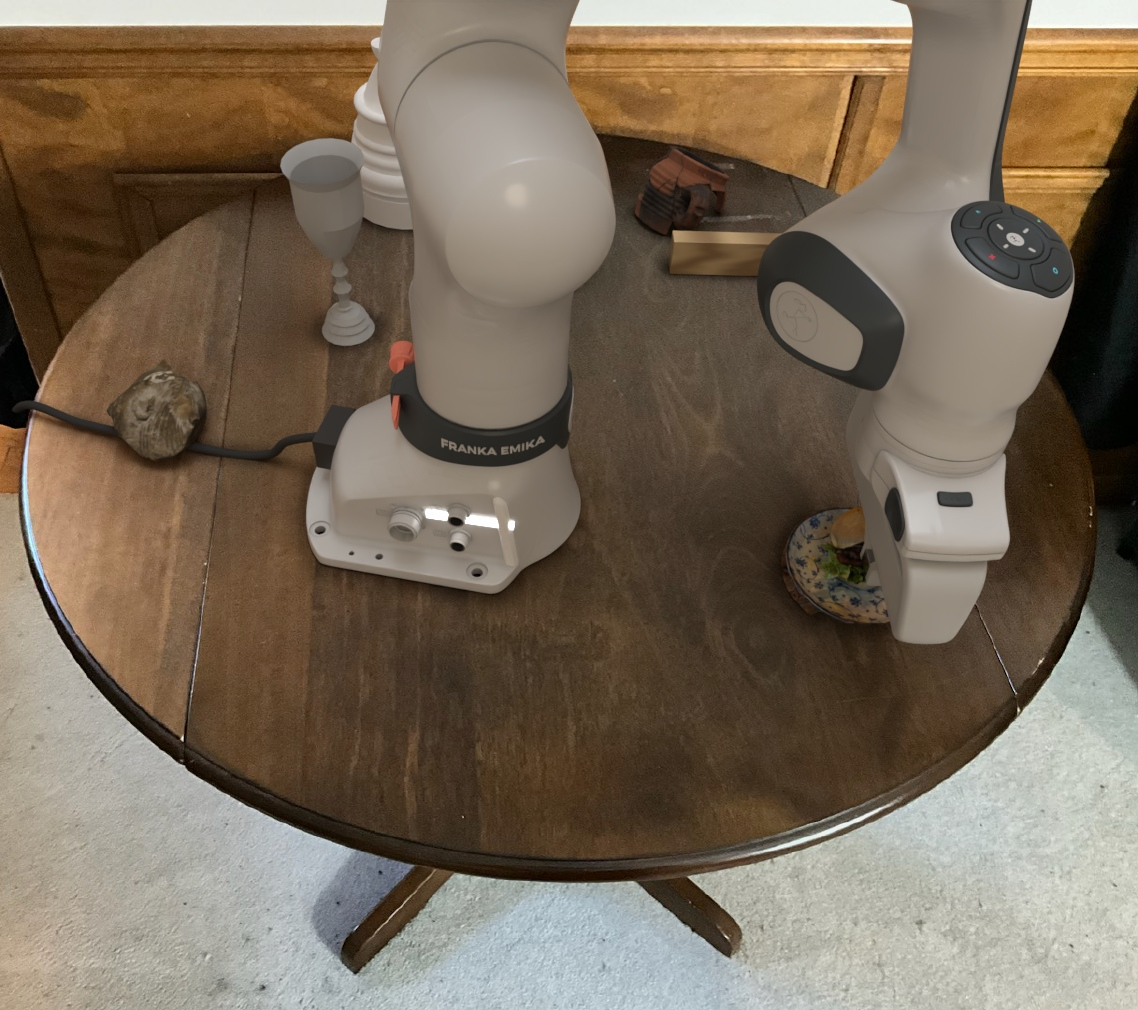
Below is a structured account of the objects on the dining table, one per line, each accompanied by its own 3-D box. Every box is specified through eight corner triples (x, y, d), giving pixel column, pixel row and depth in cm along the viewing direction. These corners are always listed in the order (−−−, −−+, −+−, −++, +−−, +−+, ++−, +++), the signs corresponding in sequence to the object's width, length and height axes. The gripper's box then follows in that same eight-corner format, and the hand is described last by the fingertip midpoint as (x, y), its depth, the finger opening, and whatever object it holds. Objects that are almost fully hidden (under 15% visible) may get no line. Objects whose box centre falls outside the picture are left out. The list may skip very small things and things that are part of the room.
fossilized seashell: (221, 439, 87) (217, 376, 94) (160, 389, 83) (161, 328, 90) (153, 490, 88) (155, 424, 96) (90, 443, 84) (96, 378, 91)
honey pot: (420, 243, 110) (406, 80, 97) (328, 202, 114) (302, 40, 101) (491, 189, 117) (488, 30, 104) (402, 152, 122) (388, -5, 108)
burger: (798, 640, 79) (820, 582, 73) (766, 521, 87) (784, 460, 81) (950, 633, 80) (983, 574, 74) (905, 516, 88) (932, 455, 82)
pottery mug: (618, 201, 118) (651, 132, 114) (687, 231, 122) (721, 164, 118) (650, 238, 108) (688, 163, 104) (724, 268, 112) (763, 197, 108)
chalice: (362, 360, 98) (337, 192, 84) (298, 342, 99) (263, 173, 86) (397, 315, 102) (379, 148, 89) (335, 298, 104) (308, 131, 90)
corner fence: (684, 400, 96) (690, 367, 93) (668, 262, 110) (672, 230, 107) (909, 404, 97) (921, 372, 94) (864, 267, 110) (874, 235, 107)
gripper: (851, 339, 75) (810, 469, 85) (913, 564, 61) (856, 686, 72) (938, 341, 75) (887, 471, 85) (1019, 566, 62) (946, 688, 72)
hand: (873, 571), depth 79 cm, fingers closed
